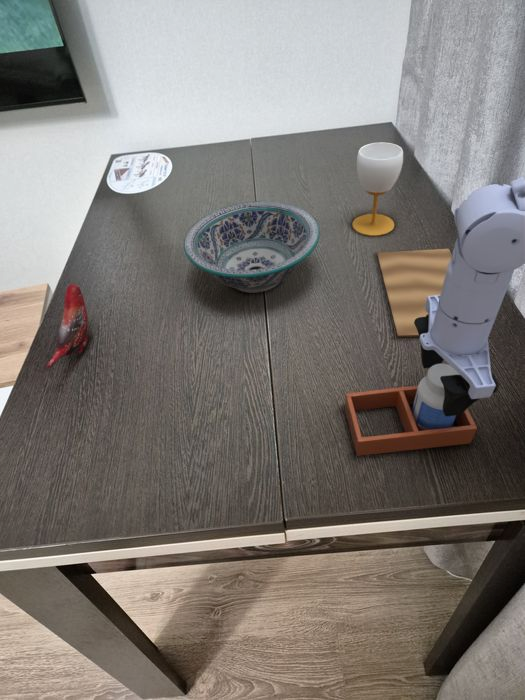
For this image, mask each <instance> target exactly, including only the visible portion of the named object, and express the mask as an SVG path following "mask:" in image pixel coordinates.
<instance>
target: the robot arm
mask: <svg viewBox="0 0 525 700" xmlns="http://www.w3.org/2000/svg"><path fill="white" fill-rule="evenodd" d="M453 219H454V225H455V228H456V229H457V234H458V237H457V238H456V240H455V242H454V243H455V244H454V247H453V250H452V252H451V254H452V257H451V260H450V262H449V264H448V268H447V271H446V275H445V279H444V283H443V287H442V291H441V295H434V296H427V300H426V304H425V310H426V312H427V313H429V314H428V315H426V317H419V318H416V319H415V321H414V324H415V326H416V328H417V331H418V334H419V337H418V338H419V344H420V356H421V357H420V358H421V365H422V367H423V369H430V367H432V366H433V365H436V364H443V362H444V361H445V362H446V364H448V365H451V366H452V367H453V368H454V369H455V370H456V371H457V372H458V373H459V374H460V375H449V376H441V378H440V380H441V382H442V384H443V387H444V402H443V412H444V415H445V416H455V415H461V414H462V413H463V412H464V411H465V410H466V409H469V408H470V407H471V406H472V405H473V404H475V403H476V402H477V401H479V400H481V399H485V398H491V397H492V396H493V395H492V394H494V393H496V392H497V391H498V389H499V385H500V384H499V382H498V380H497V379H496V377H495V376H494V374H493V373H492V370H491V359H490V346H489V337H490V334H491V331H492V329H493V326H494V323H495V321H496V319H497V317H498V313H499V311H500V308H501V306H502V303H503V301H504V298H505V296H506V293H507V291H508V288H509V285H510V283H511V280H512V278H513V274H514V271H515V270H517V269H519V268H521V267H522V266H523V265H524V264H525V177H524V176H521V177H519V178H516V179H514V180H512V181H511V182H510V185H509V184H505V183H503V184H502V185H500V184H498V183H495V184H494V183H493V184H488V185H485V186H482V187H479V188H478V189H475V190H474V191H473V192H471V193H469V194H468V195H467V198H466V199H463V200H462V202H461V204H460V205H459V206H458V207H456V208H455V209H454V213H453Z"/></svg>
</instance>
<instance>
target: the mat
mask: <svg viewBox="0 0 525 700" xmlns="http://www.w3.org/2000/svg"><path fill="white" fill-rule="evenodd" d="M376 256H377V261H378V264H379V267H380V272H381V276H382V277H381V278H382V280H383V284H384V289H385V292H386V297H387V300H388V304H389V308H390V312H391V315H392V317H391V318H392V320H393V324H394V329H395V333H396V337H397V338H398V339H399V338H419V334H418V331H417V328H416V326H415V324H414V321H415V319H416V318H419V317H426V315H428V314H429V313H427V312H426V310H425V304H426V300H427V296H434V295H441V291H442V287H443V283H444V279H445V275H446V271H447V268H448V264H449V262H450V260H451V257H452V252H451V250H450V248H438V249H437V248H434V249H417V250H416V249H415V250H399V251H398V250H397V251H396V250H395V251H380V252H377V253H376Z"/></svg>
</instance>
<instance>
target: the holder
mask: <svg viewBox="0 0 525 700" xmlns="http://www.w3.org/2000/svg"><path fill="white" fill-rule="evenodd" d="M418 385H419V384H418ZM418 385H409V386H400V387H391V388H381V389H373V390H366V391H357V392H348V393H345V399H344V400H345V401H344V412H345V416H346V419H347V424H348V427H349V433H350V435H351V440H352V444H353V448H354V452H355V455H356V457H361V456H369V455H370V456H371V455H377V454H388V453H395V452H397V453H398V452H405V451H413V450H423V449H432V448H441V447H442V448H443V447H448V446H449V447H451V446H459V445H468V444H471V443H472V441H473V439H474V437H475V435H476V432H477V430H478V428H477V425H476V423H475V421H474V419H473V417H472V415H471V413H470V411H469V408H467V409H466V410H465V411H464V412H463V413H462V414H461V415H456V417H455V420H454V422H455V423H456V425H457V426H452V427H451V428H442V429H433V430H424V431H418V429H417V426H416V423H415V421H414V418H413V415H412V409H411V408H410V406H409V405H414V401H415V396H416V392H417V389H418ZM391 407H395V408H396V411H397V414H398V416H399V419H400V422H401V425H402V428H403V430H404V432H399V433H390V434H388V433H387V434H382V435H381V434H380V435H372V436H362V433H361V429H360V425H359V421H358V416H357V414H356V411H364V410H365V411H366V410H373V409H374V410H375V409H381V408H391Z"/></svg>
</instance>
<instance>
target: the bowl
mask: <svg viewBox="0 0 525 700" xmlns="http://www.w3.org/2000/svg"><path fill="white" fill-rule="evenodd" d="M320 236H321V235H320V227H319V224H318V222H317V220H316V219H315V218H314V216H312V215H311V214H310V213H308V212H307V211H306V210H304V209H302V208H300V207H298V206H295V205H292V204H289V203H285V202H279V201H273V200H271V201H270V200H256V201H255V200H254V201H245V202H238V203H234V204H230V205H226V206H224V207H221V208H218V209H216V210H214V211H212V212H209V213H208V214H205V215H204V216H203V217H201V218H200V219H198V220H197V221H195V223H194V224H193V225H192V226H191V227H190V228H189V230H188V231H187V232H186V234H185V237H184V239H183V249H184V253H185V256H186V257H187V259H188V260H189V262H190V263H191V264H192V265H193V266H194V267H196V268H197V269H200V270H201V271H203V272H206V273H208V274H211V275H212V276H213V278H215V279H216V280H217V281H218V282H220V283H221V284H223V285H225V286H227V287H230V288H234V289H236V290H238V291H241V292H242V293H250V294H252V293H253V294H255V293H262V292H266V291H269V290H272V289H273V288H275V287H276V286H277V285H279V284H280V283H281V282H283V281H285V280H286V279H287V278H289V276H291V275H292V274H293V273H294V272H295V271H296V269H297V267H298V266H299V264H300V263H301V262H302V261H304V260H305V259H307V258H308V257H309V256H310V255H311V254H312V253H313V252H314V250H315V249H316V247H317V245H318V244H319V241H320Z"/></svg>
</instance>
